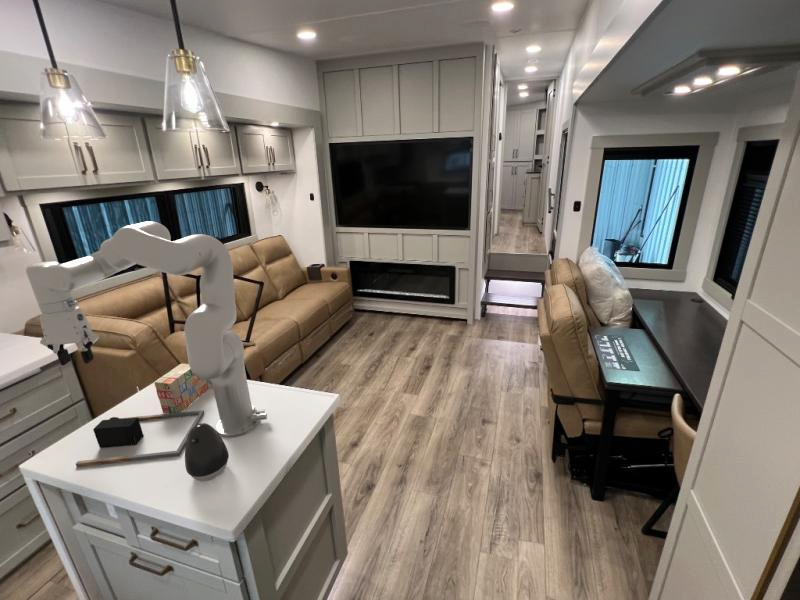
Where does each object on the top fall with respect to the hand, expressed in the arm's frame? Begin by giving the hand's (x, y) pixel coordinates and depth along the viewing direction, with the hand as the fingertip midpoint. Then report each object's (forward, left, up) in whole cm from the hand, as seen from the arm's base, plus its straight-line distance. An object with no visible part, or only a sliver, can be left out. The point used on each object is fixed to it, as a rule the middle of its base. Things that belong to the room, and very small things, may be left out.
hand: (77, 361), depth 113 cm
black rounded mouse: (-42, +26, -24) cm, 55 cm away
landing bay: (-24, +8, -24) cm, 35 cm away
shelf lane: (-11, +8, -24) cm, 27 cm away
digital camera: (-11, +8, -24) cm, 27 cm away
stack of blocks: (-23, -14, -24) cm, 36 cm away
